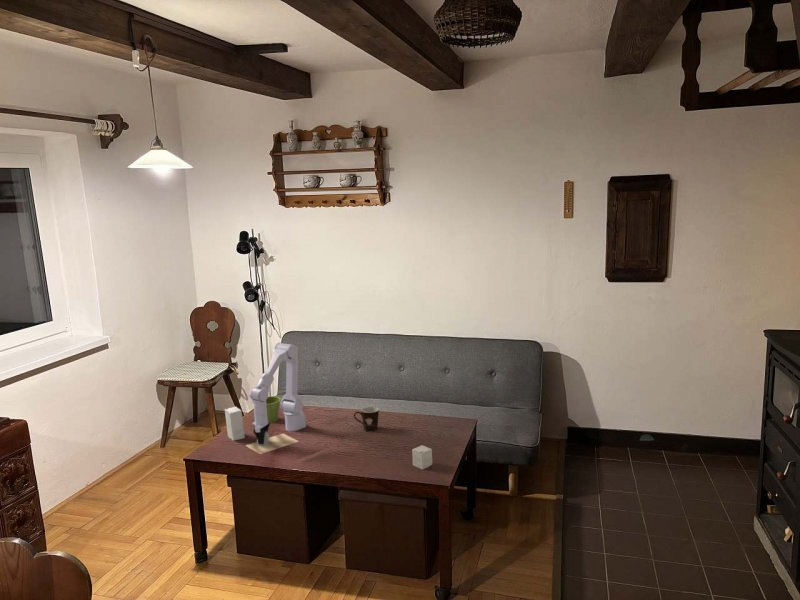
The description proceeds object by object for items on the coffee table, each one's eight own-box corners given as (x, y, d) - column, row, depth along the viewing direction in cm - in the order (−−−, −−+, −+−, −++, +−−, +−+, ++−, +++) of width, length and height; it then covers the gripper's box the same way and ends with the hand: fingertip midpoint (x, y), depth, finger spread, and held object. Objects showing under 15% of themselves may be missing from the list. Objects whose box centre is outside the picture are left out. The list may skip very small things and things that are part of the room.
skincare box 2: (422, 461, 273) (421, 444, 271) (432, 465, 268) (432, 448, 267) (412, 465, 269) (411, 449, 267) (422, 469, 264) (422, 453, 263)
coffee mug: (383, 427, 312) (382, 408, 310) (373, 433, 305) (372, 413, 303) (363, 423, 318) (362, 404, 316) (353, 429, 311) (352, 410, 309)
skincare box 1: (245, 440, 303) (242, 410, 300) (232, 443, 299) (230, 413, 297) (239, 434, 310) (236, 405, 307) (226, 437, 306) (224, 408, 304)
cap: (255, 443, 295) (254, 433, 294) (265, 440, 298) (264, 430, 297) (261, 446, 291) (260, 436, 290) (270, 443, 295) (270, 433, 294)
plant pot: (254, 421, 327) (252, 400, 325) (274, 415, 335) (272, 394, 333) (266, 427, 318) (265, 405, 316) (286, 420, 326) (285, 399, 324)
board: (283, 435, 306) (282, 433, 306) (298, 443, 296) (298, 441, 296) (245, 447, 293) (245, 445, 293) (260, 456, 283) (260, 454, 283)
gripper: (256, 408, 300) (258, 435, 302) (247, 419, 285) (250, 447, 288) (270, 407, 299) (273, 435, 302) (263, 418, 285) (265, 447, 287)
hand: (262, 441), depth 295 cm, fingers closed on cap, 5 cm apart
